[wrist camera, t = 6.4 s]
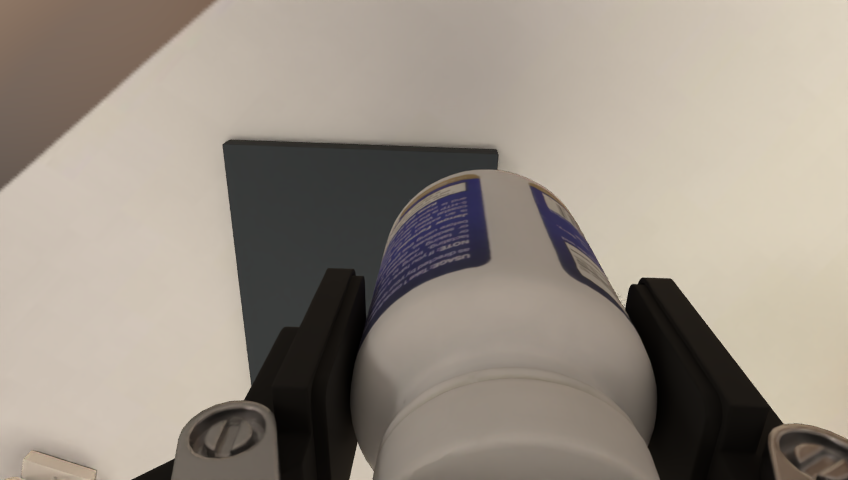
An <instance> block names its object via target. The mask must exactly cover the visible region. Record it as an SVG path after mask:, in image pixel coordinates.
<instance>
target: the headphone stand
mask: <svg viewBox="0 0 848 480" xmlns="http://www.w3.org/2000/svg"><path fill="white" fill-rule="evenodd" d="M95 476H96V470H93V469H90V468H86V467H83V466H80V465H77V464H74V463H71V462H67V461H64V460H61V459H58V458H55V457H52V456H49V455H45V454H42V453H39V452H36V451H33V450H31V452H30V453H29V454H28V455H27V456H26V457H25V458H24V459H23V466H22V473H21V478H19V477H11V478H8V479H5V480H95Z"/></svg>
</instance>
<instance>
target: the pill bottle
mask: <svg viewBox="0 0 848 480" xmlns="http://www.w3.org/2000/svg"><path fill="white" fill-rule="evenodd" d="M350 409H351V417H352V424H353V428H354V431H355V435H356V438H357V441H358V444H359V446H360V449H361V451H362V453H363V455H364V457H365V459H366V460H367V462H368V463H369V465H370V466H371V468H372V469H373V471H374V475H373V480H660V478H659V475H658V473H657V470H656V467H655V464H654V461H653V459H652V456H651V454H650V451H649V449H648V444H649V442H650V439H651V436H652V433H653V430H654V426H655V421H656V412H657V386H656V381H655V377H654V373H653V369H652V365H651V362H650V359H649V357H648V354H647V352H646V350H645V348H644V345H643V343H642V341H641V338H640V336H639V334H638V332H637V330H636V328H635V327H634V325H633V323H632V322H631V320H630V318H629V316H628V314H627V312H626V311H625V309H624V306H623V305H622V304H621V302H620V300H619V298H618V296H617V295H616V293H615V291H614V289H613V288H612V286H611V284H610V282H609V281H608V279H607V277H606V275H605V273H604V271H603V269H602V268H601V266H600V264H599V262H598V261H597V259H596V257H595V255H594V253H593V251H592V249H591V248H590V246H589V244H588V242H587V241H586V239H585V237H584V235H583V233H582V231H581V230H580V228H579V226H578V224H577V223H576V221H575V220H574V218H573V216H572V215H571V213H570V212H569V210H568V209H567V208H566V206H565V205H564V204H563V203H562V202H561V201H560V200H559V199H558V198H557V197H556V196H555V195H554V194H553V193H552V192H550V191H549V190H548V189H546V188H545V187H543V186H541V185H540V184H538V183H536V182H534V181H532V180H530V179H528V178H526V177H523V176H520V175H517V174H514V173H511V172H506V171H501V170H471V171H464V172H460V173H457V174H453V175H450V176H448V177H445V178H443V179H440V180H438V181H437V182H435V183H433V184H431V185H429V186H428V187H426V188H425V189H423V190H422V191H421V192H419V193H418V194H417V195H416V196H415V197H414V198H412V199H411V200H410V202H409V203H408V204H407V205H406V206H405V207H404V209H403V210H402V211H401V213H400V214H399V216H398V217H397V219H396V221H395V223H394V225H393V227H392V229H391V232H390V234H389V237H388V240H387V244H386V247H385V251H384V254H383V258H382V262H381V266H380V270H379V274H378V278H377V281H376V285H375V289H374V293H373V297H372V301H371V304H370V308H369V312H368V315H367V319H366V323H365V326H364V330H363V334H362V338H361V341H360V344H359V348H358V351H357V355H356V359H355V363H354V369H353V375H352V381H351V390H350Z"/></svg>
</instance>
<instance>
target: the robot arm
mask: <svg viewBox="0 0 848 480" xmlns="http://www.w3.org/2000/svg"><path fill="white" fill-rule="evenodd" d="M625 311H626V312H627V314H628V316H629V318H630V320H631V322H632V323H633V325H634V327H635V328H636V330H637V332H638V334H639V336H640V338H641V341H642V343H643V345H644V348H645V350H646V352H647V354H648V357H649V359H650V362H651V365H652V369H653V373H654V377H655V381H656V386H657V412H656V421H655V426H654V430H653V433H652V436H651V439H650V442H649V444H648V449H649V451H650V454H651V456H652V459H653V461H654V464H655V467H656V470H657V473H658V475H659V478H660V480H848V439H846V438H844V437H842V436H840V435H837V434H835V433H833V432H831V431H828V430H825V429H822V428H818V427H815V426H812V425H805V424H797V423H794V424H783V423H782V421H781V420H780V419H779V417H778V416H777V415H776V414H775V412H774V411H773V410H772V408H771V407H770V406H769V405H768V403H767V402H766V401H765V399H764V398H763V397H762V395H761V394H760V393H759V392H758V390H757V389H756V388H755V386H754V385H753V384H752V382H751V381H750V380H749V379H748V377H747V376H746V375H745V373H744V372H743V371H742V369H741V368H740V367H739V366H738V364H737V363H736V362H735V360H734V359H733V358H732V356H731V355H730V354H729V353H728V351H727V350H726V349H725V347H724V346H723V345H722V344H721V342H720V341H719V340H718V338H717V337H716V336H715V334H714V333H713V332H712V331H711V329H710V328H709V327H708V325H707V324H706V323H705V321H704V320H703V319H702V318H701V316H700V315H699V314H698V312H697V311H696V310H695V308H694V307H693V306H692V305H691V303H690V302H689V301H688V299H687V298H686V297H685V295H684V294H683V293H682V292H681V290H680V289H679V288H678V286H677V285H676V284H675V282H674V281H673V280H672V279H667V278H641V279H640V281H639V283H638V284H632V285H631V286H630V288H629V291H628V297H627V303H626V308H625ZM365 323H366V297H365V279H364V276H356V273H355V270H354V269H343V268H328V269H327V270H326V272H325V274H324V276H323V279H322V281H321V283H320V285H319V287H318V289H317V291H316V293H315V295H314V297H313V300H312V302H311V304H310V306H309V308H308V310H307V312H306V314H305V316H304V318H303V321H302V323H301V325H300V327H283V329H282V330H281V331H280V333H279V335H278V337H277V339H276V341H275V343H274V344H273V346H272V348H271V350H270V352H269V354H268V356H267V358H266V360H265V362H264V363H263V365H262V367H261V369H260V371H259V373H258V375H257V377H256V379H255V381H254V382H253V384H252V386H251V388H250V390H249V392H248V394H247V396H246V398H245V399H244V400H241V401H229V402H225V403H221V404H217V405H214V406H212V407H210V408H208V409H206V410H203V411H202V412H200V413H199V414H197V415H196V416H195V417H193V418H192V419H191V420H190V421H189V422H188V423H187V424H186V426H185V427H184V428H183V429H182V431H181V434H180V436H179V439H178V444H177V449H176V455H175V459H173V460H171V461H169V462H167V463H165V464H163V465H161V466H159V467H157V468H155V469H153V470H150V471H148V472H146V473H144V474H142V475H140V476H138V477H136V478H134V479H132V480H349V478H350V474H351V469H352V465H353V460H354V456H355V451H356V447H357V442H358V441H357V438H356V435H355V431H354V428H353V424H352V417H351V409H350V390H351V381H352V375H353V369H354V363H355V359H356V355H357V351H358V348H359V344H360V341H361V338H362V334H363V330H364V326H365Z"/></svg>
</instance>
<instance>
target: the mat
mask: <svg viewBox="0 0 848 480" xmlns="http://www.w3.org/2000/svg"><path fill="white" fill-rule="evenodd" d="M223 153H224V161H225V170H226V178H227V186H228V195H229V203H230V211H231V220H232V228H233V237H234V245H235V253H236V262H237V270H238V278H239V287H240V295H241V303H242V312H243V320H244V328H245V337H246V345H247V353H248V362H249V370H250V378H251V386H252V384H253V382H254V381H255V379H256V377H257V375H258V373H259V371H260V369H261V367H262V365H263V363H264V362H265V360H266V358H267V356H268V354H269V352H270V350H271V348H272V346H273V344H274V343H275V341H276V339H277V337H278V335H279V333H280V331H281V330H282V329H283V327H300V325H301V323H302V321H303V318H304V316H305V314H306V312H307V310H308V308H309V306H310V304H311V302H312V300H313V297H314V295H315V293H316V291H317V289H318V287H319V285H320V283H321V281H322V279H323V276H324V274H325V272H326V270H327V269H328V268H343V269H354V270H355V273H356V276H364V279H365V297H366V319H367V315H368V312H369V308H370V304H371V301H372V297H373V293H374V289H375V285H376V281H377V278H378V274H379V270H380V266H381V262H382V258H383V254H384V251H385V247H386V244H387V240H388V237H389V234H390V232H391V229H392V227H393V225H394V223H395V221H396V219H397V217H398V216H399V214H400V213H401V211H402V210H403V209H404V207H405V206H406V205H407V204H408V203H409V202H410V200H411V199H412V198H414V197H415V196H416V195H417V194H418V193H419V192H421V191H422V190H423V189H425V188H426V187H428V186H429V185H431V184H433V183H435V182H437V181H438V180H440V179H443V178H445V177H448V176H450V175H453V174H457V173H460V172H464V171H471V170H497V167H498V152H497V150H495V149H468V148H440V147H413V146H386V145H358V144H331V143H303V142H276V141H249V140H229V141H227V142H225V143H224V144H223Z"/></svg>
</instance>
